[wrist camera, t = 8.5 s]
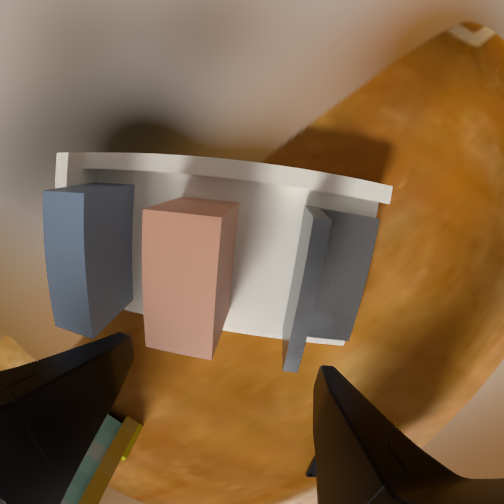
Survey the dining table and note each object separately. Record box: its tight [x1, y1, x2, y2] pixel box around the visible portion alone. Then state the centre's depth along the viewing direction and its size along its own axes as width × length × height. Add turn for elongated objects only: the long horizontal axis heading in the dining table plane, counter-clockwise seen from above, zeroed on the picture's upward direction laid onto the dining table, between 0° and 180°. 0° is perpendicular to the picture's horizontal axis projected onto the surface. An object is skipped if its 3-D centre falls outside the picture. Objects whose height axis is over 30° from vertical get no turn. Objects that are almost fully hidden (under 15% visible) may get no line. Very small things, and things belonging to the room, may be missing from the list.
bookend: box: [283, 205, 380, 373], centre depth 15 cm, size 8×4×4 cm, turn 173°
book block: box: [142, 197, 239, 360], centre depth 16 cm, size 7×4×6 cm, turn 174°
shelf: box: [43, 152, 393, 346], centre depth 16 cm, size 11×19×6 cm, turn 83°
